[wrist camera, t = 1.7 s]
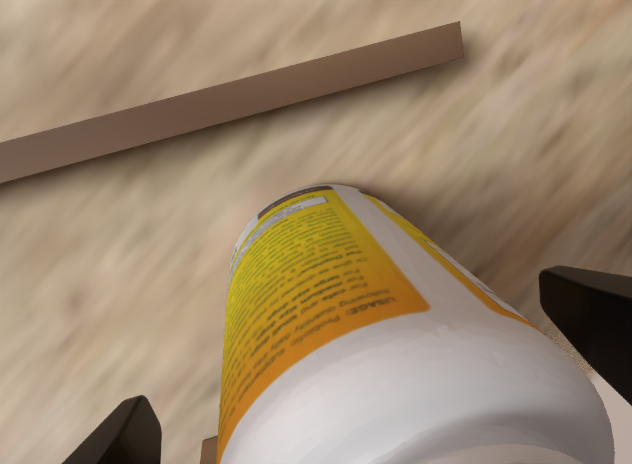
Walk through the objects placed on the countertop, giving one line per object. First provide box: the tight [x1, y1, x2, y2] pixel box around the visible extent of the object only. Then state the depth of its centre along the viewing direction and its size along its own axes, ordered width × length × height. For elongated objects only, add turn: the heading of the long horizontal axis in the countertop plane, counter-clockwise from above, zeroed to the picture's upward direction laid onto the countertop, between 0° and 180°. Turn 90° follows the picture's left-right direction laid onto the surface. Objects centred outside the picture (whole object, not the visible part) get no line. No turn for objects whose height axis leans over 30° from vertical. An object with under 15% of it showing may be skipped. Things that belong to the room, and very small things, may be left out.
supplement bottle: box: [216, 184, 615, 464], centre depth 8 cm, size 6×6×10 cm
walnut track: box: [0, 21, 464, 464], centre depth 13 cm, size 18×21×2 cm
